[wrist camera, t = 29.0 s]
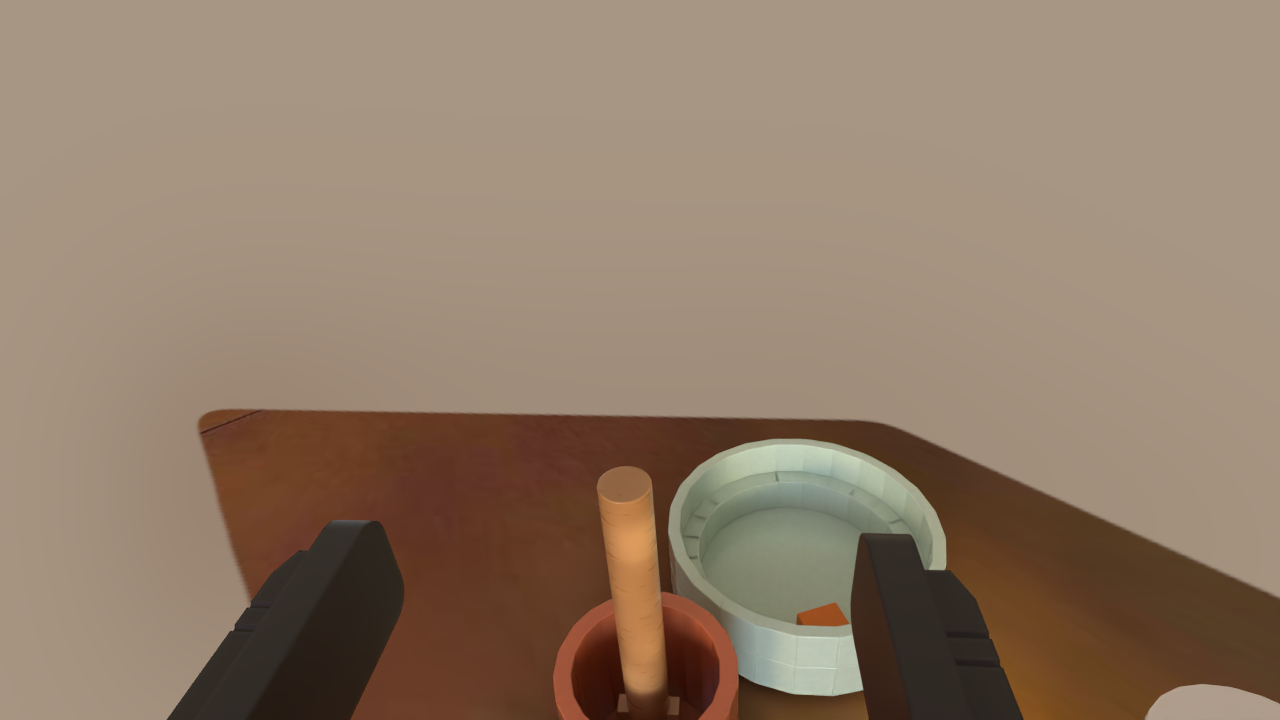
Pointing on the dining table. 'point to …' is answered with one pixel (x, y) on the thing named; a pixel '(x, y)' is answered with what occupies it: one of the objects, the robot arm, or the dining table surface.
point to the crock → (692, 654)
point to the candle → (1212, 705)
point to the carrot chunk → (822, 616)
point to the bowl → (789, 551)
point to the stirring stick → (636, 593)
